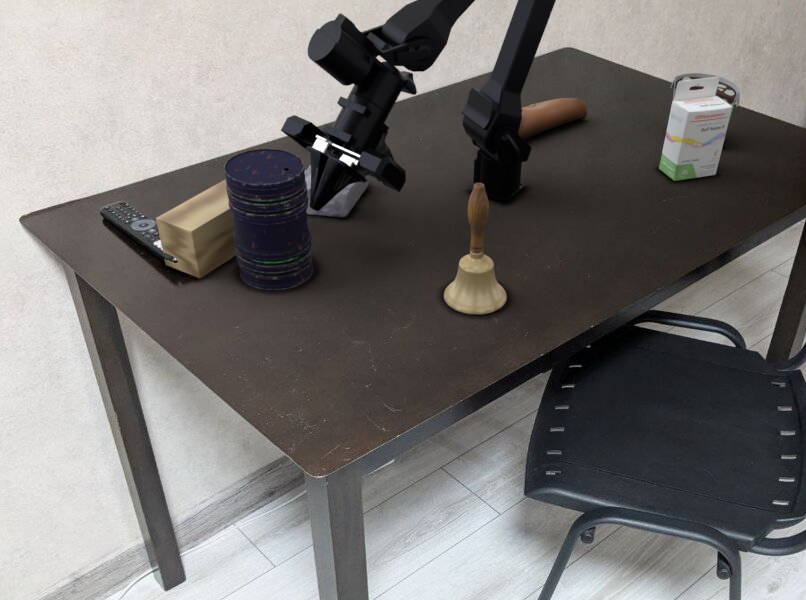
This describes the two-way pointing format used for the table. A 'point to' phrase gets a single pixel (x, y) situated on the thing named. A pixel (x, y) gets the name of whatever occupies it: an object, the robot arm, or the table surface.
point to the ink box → (695, 130)
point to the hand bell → (476, 266)
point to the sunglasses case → (550, 115)
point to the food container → (724, 90)
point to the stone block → (337, 198)
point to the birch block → (199, 232)
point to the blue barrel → (270, 218)
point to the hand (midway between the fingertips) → (313, 209)
